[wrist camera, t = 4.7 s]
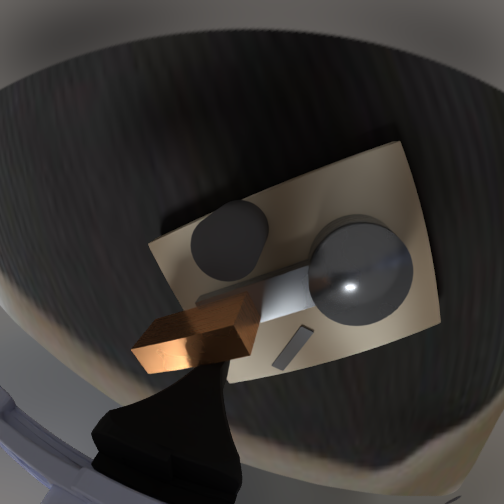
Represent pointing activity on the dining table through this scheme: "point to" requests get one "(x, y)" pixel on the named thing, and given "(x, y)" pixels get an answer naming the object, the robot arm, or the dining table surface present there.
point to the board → (297, 249)
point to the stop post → (230, 240)
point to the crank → (288, 297)
